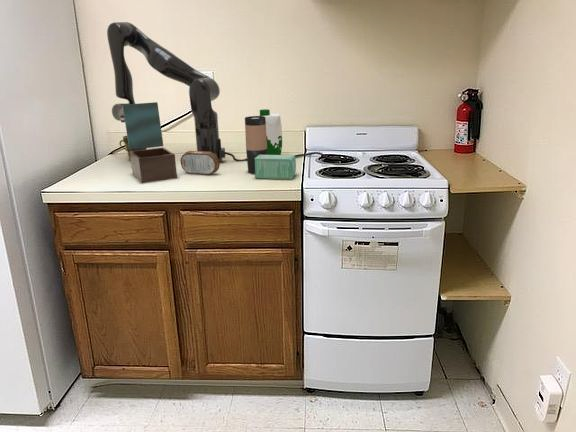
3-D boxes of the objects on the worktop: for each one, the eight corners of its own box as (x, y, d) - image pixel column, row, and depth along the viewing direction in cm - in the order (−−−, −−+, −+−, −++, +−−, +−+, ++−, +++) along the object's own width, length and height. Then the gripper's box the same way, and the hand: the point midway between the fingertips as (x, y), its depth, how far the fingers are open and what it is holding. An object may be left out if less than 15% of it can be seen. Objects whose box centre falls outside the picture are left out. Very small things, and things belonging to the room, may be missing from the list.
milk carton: (261, 156, 210) (259, 108, 204) (282, 156, 210) (281, 108, 204) (260, 161, 202) (257, 111, 196) (282, 160, 202) (280, 110, 195)
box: (292, 179, 171) (292, 158, 169) (254, 179, 174) (253, 158, 172) (296, 174, 178) (295, 154, 176) (259, 174, 181) (258, 154, 179)
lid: (157, 102, 185) (156, 102, 186) (122, 104, 179) (122, 104, 180) (163, 146, 188) (163, 146, 189) (129, 150, 183) (129, 150, 184)
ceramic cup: (140, 156, 219) (137, 133, 216) (154, 158, 213) (152, 135, 210) (114, 161, 209) (111, 138, 206) (129, 164, 203) (126, 140, 200)
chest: (177, 178, 178) (174, 154, 176) (141, 183, 173) (138, 158, 170) (165, 170, 192) (163, 147, 189) (132, 174, 186) (129, 151, 183)
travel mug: (271, 170, 186) (269, 116, 180) (262, 174, 180) (259, 119, 174) (253, 168, 190) (250, 115, 183) (243, 173, 183) (240, 118, 177)
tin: (220, 174, 183) (219, 151, 180) (216, 176, 180) (215, 153, 177) (184, 172, 187) (182, 149, 185) (180, 173, 185) (178, 151, 182)
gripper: (114, 107, 195) (122, 111, 180) (148, 104, 200) (158, 108, 186) (116, 126, 197) (125, 131, 182) (150, 123, 203) (160, 128, 188)
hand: (142, 119), depth 184 cm, fingers closed
